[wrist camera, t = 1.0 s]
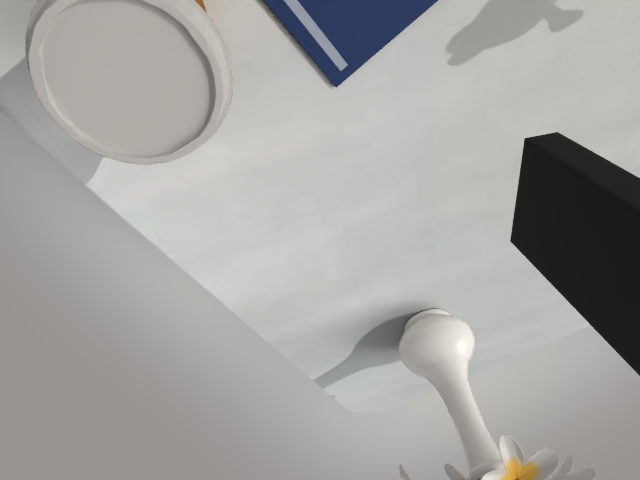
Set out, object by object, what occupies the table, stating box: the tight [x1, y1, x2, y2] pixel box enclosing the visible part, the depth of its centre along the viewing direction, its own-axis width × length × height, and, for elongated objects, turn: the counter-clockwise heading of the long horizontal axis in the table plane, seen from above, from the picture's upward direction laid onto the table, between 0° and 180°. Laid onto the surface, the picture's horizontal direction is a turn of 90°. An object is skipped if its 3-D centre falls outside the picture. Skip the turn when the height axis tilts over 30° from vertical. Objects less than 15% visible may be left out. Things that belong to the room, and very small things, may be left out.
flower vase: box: [399, 309, 595, 480], centre depth 49 cm, size 13×18×25 cm
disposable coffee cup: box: [26, 0, 233, 164], centre depth 26 cm, size 10×10×12 cm
